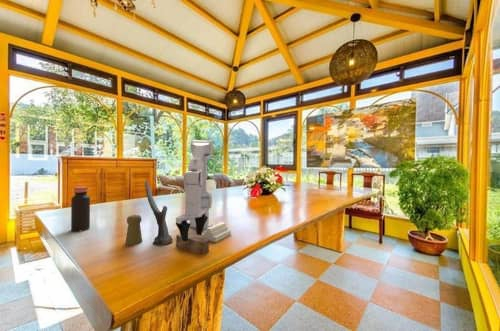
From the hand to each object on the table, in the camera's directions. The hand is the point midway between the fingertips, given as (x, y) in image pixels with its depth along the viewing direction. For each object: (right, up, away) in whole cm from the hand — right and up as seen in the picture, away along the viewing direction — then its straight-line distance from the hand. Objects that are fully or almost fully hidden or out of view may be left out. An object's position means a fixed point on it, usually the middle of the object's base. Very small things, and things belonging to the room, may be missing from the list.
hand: (192, 237), depth 79 cm
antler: (-16, -4, +5) cm, 17 cm away
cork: (-25, -4, +5) cm, 26 cm away
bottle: (-58, -3, +18) cm, 60 cm away
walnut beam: (0, -5, 0) cm, 5 cm away
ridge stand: (+7, -4, +13) cm, 16 cm away
